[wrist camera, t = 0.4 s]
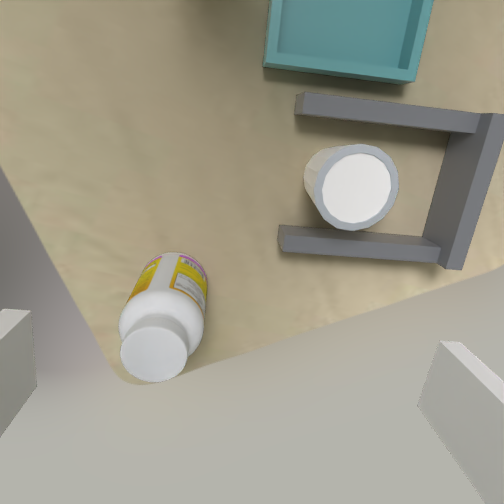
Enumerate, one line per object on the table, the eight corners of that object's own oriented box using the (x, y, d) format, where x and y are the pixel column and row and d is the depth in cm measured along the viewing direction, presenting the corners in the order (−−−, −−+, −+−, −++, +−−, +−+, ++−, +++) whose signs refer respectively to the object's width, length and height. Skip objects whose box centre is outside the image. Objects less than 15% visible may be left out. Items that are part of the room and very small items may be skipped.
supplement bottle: (144, 308, 38) (107, 394, 26) (141, 249, 36) (99, 313, 24) (208, 308, 38) (200, 393, 26) (208, 250, 36) (201, 314, 24)
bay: (277, 240, 36) (285, 257, 32) (296, 95, 32) (309, 90, 27) (432, 252, 38) (461, 270, 33) (471, 116, 34) (511, 115, 29)
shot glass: (282, 177, 34) (296, 190, 28) (335, 123, 33) (363, 123, 26) (328, 225, 36) (351, 247, 30) (380, 176, 35) (416, 188, 28)
